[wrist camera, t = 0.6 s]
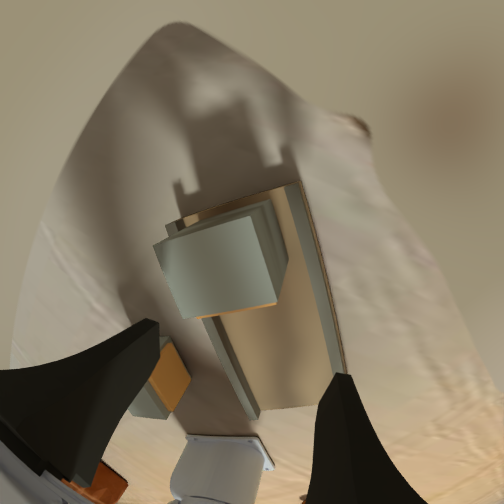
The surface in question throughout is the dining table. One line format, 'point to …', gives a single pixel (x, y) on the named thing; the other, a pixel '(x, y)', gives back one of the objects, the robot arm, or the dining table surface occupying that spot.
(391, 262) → the dining table surface
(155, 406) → the block
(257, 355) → the jaw track
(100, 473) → the bread
